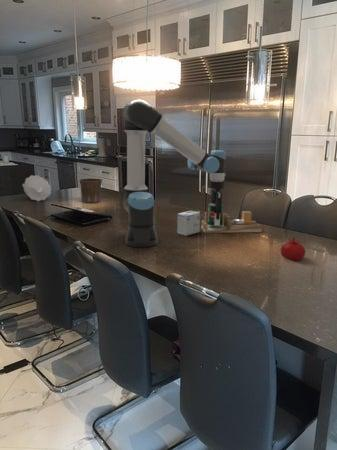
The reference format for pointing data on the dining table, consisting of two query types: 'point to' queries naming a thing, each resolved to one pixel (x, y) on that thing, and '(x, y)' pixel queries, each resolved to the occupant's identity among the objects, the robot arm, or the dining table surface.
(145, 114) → the robot arm
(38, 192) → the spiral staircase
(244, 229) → the base
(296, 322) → the dining table surface
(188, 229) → the light bulb box
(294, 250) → the pomegranate
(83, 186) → the plant pot
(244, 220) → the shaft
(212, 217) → the canned tomato
